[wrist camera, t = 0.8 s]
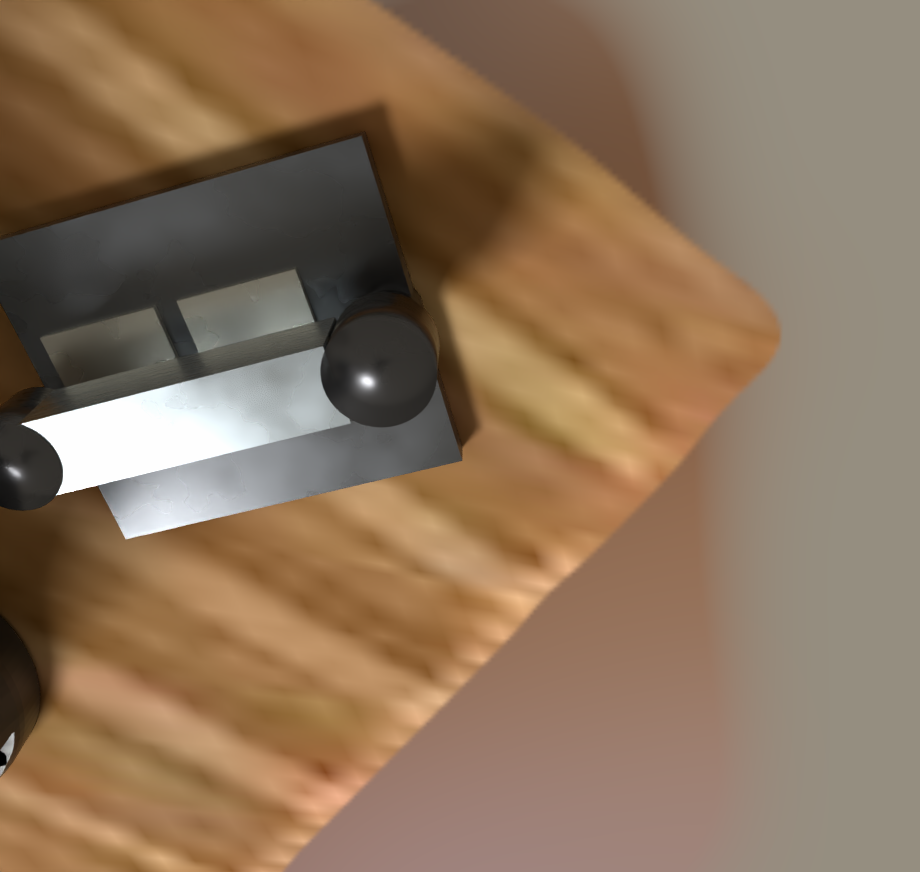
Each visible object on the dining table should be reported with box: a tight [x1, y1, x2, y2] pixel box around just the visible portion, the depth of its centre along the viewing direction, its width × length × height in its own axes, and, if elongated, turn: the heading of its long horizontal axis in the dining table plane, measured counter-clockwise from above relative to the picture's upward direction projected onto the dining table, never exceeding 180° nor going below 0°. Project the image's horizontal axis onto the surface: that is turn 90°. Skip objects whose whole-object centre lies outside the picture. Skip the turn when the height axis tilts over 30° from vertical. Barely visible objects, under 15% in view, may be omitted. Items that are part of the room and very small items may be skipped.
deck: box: [0, 131, 462, 539], centre depth 36 cm, size 16×14×4 cm
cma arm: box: [0, 292, 440, 511], centre depth 32 cm, size 18×4×3 cm, turn 105°
